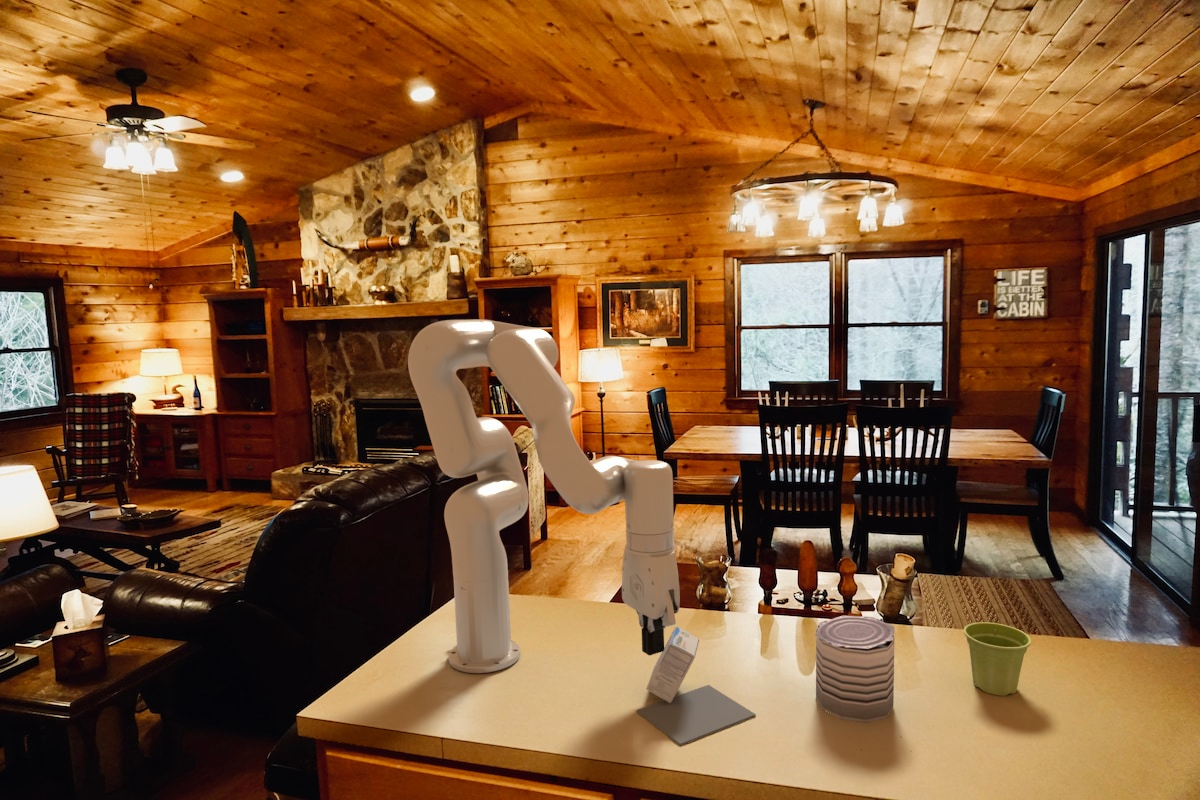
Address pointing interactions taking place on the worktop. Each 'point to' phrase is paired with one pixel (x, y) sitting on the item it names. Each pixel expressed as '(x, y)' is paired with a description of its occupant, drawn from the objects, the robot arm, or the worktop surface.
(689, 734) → the mat
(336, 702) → the worktop surface
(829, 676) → the can
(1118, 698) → the worktop surface
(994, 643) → the plant pot
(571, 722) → the worktop surface
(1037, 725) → the worktop surface
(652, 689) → the medicine box
